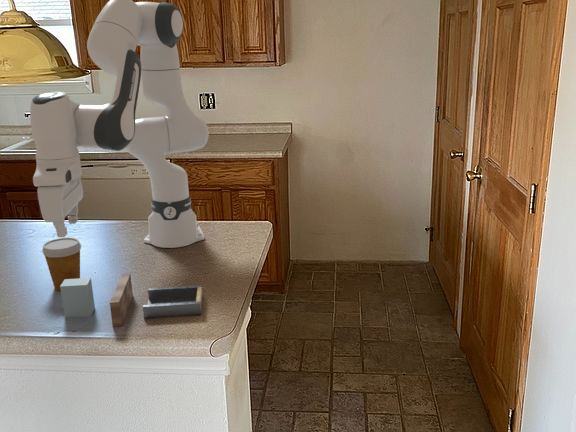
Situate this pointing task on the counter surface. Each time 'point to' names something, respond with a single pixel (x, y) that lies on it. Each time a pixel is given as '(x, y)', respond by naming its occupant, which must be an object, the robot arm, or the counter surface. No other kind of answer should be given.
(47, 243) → the disposable coffee cup
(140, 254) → the counter surface
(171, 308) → the keeper
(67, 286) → the block
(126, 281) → the brown wooden board
